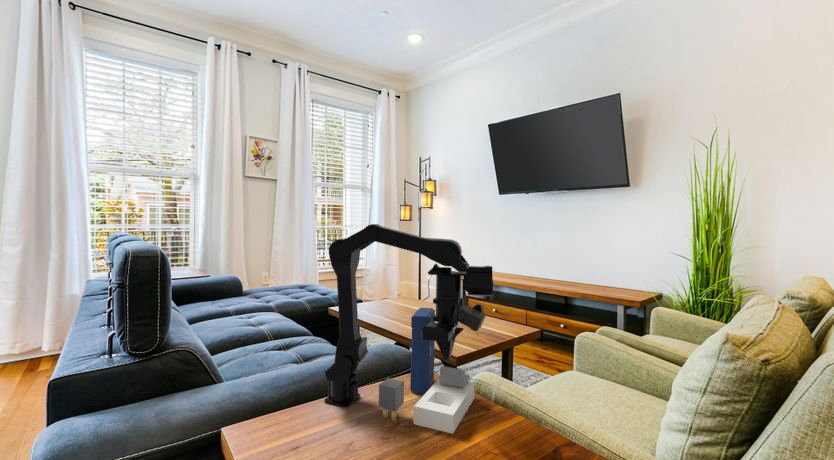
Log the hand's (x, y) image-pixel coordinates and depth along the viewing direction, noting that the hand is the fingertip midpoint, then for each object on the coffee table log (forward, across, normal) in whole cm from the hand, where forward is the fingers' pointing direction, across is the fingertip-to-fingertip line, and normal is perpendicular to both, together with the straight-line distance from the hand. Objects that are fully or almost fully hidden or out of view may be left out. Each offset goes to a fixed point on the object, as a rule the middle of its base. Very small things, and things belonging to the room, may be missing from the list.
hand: (447, 360), depth 91 cm
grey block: (+7, +6, 0) cm, 10 cm away
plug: (+12, -8, +10) cm, 18 cm away
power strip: (+12, -1, 0) cm, 12 cm away
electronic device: (+12, +10, +10) cm, 18 cm away
